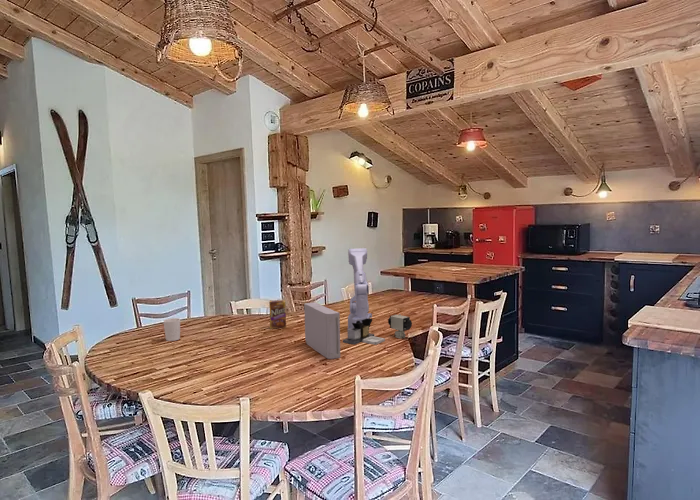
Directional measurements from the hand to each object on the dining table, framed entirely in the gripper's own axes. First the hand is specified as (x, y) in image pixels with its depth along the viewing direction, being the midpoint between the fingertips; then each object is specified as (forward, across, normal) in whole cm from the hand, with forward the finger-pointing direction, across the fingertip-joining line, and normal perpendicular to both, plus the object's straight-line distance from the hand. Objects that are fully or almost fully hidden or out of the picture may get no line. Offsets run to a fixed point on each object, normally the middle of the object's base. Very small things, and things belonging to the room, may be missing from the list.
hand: (362, 334), depth 227 cm
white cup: (+2, -54, +80) cm, 97 cm away
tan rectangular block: (+2, 0, 0) cm, 2 cm away
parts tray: (+2, -2, -8) cm, 9 cm away
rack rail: (+2, -3, 0) cm, 4 cm away
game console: (+2, -26, +4) cm, 27 cm away
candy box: (+2, -8, +52) cm, 52 cm away
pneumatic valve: (+2, +12, -15) cm, 19 cm away
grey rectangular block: (+2, -7, 0) cm, 7 cm away
